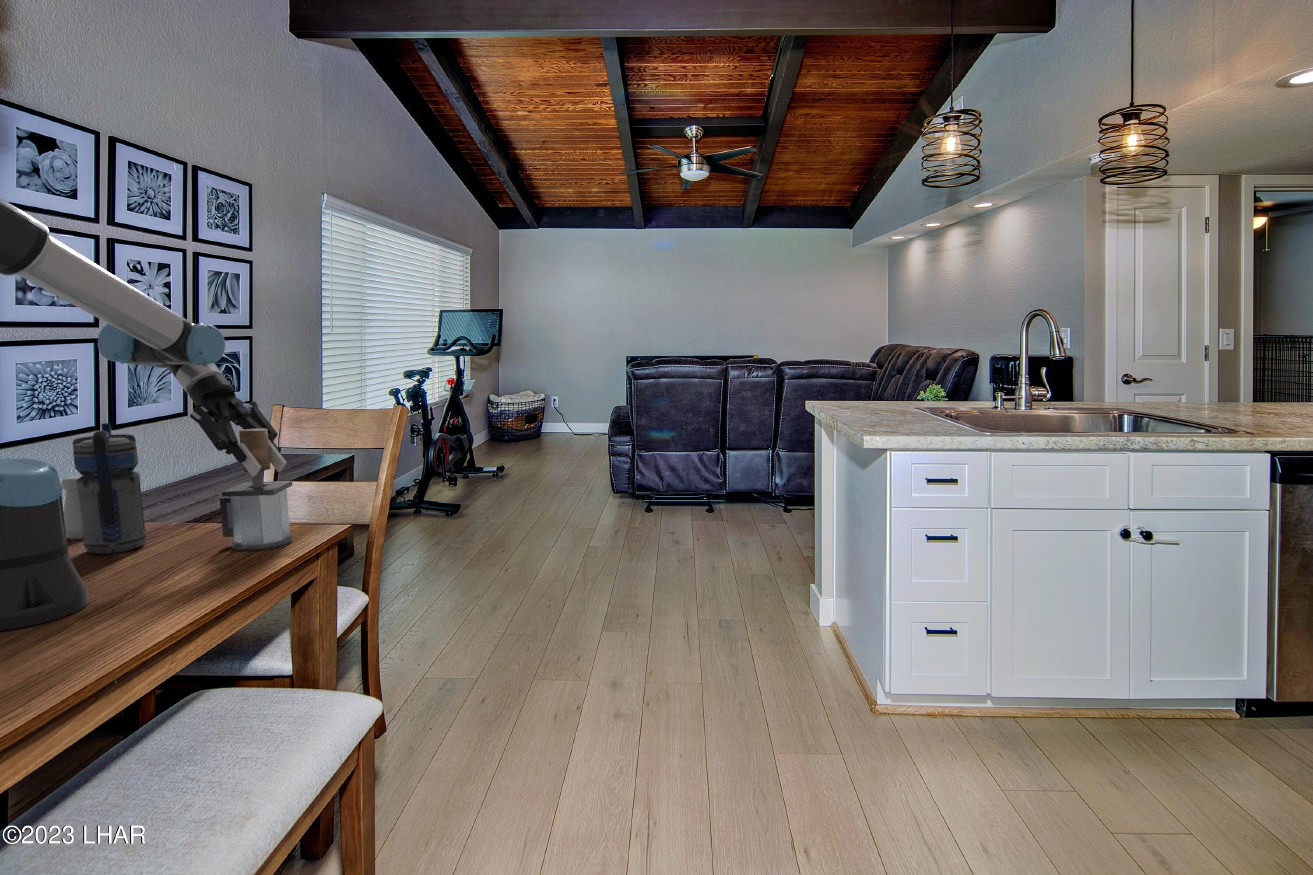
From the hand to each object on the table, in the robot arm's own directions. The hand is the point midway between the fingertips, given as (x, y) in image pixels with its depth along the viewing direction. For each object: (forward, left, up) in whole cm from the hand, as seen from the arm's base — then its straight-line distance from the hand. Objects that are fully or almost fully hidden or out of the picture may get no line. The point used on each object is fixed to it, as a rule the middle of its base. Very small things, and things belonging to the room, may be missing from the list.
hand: (269, 469), depth 146 cm
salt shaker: (-45, +14, -16) cm, 50 cm away
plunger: (-3, +2, -8) cm, 9 cm away
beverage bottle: (-31, +2, -16) cm, 35 cm away
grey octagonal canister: (-3, +2, -16) cm, 16 cm away
